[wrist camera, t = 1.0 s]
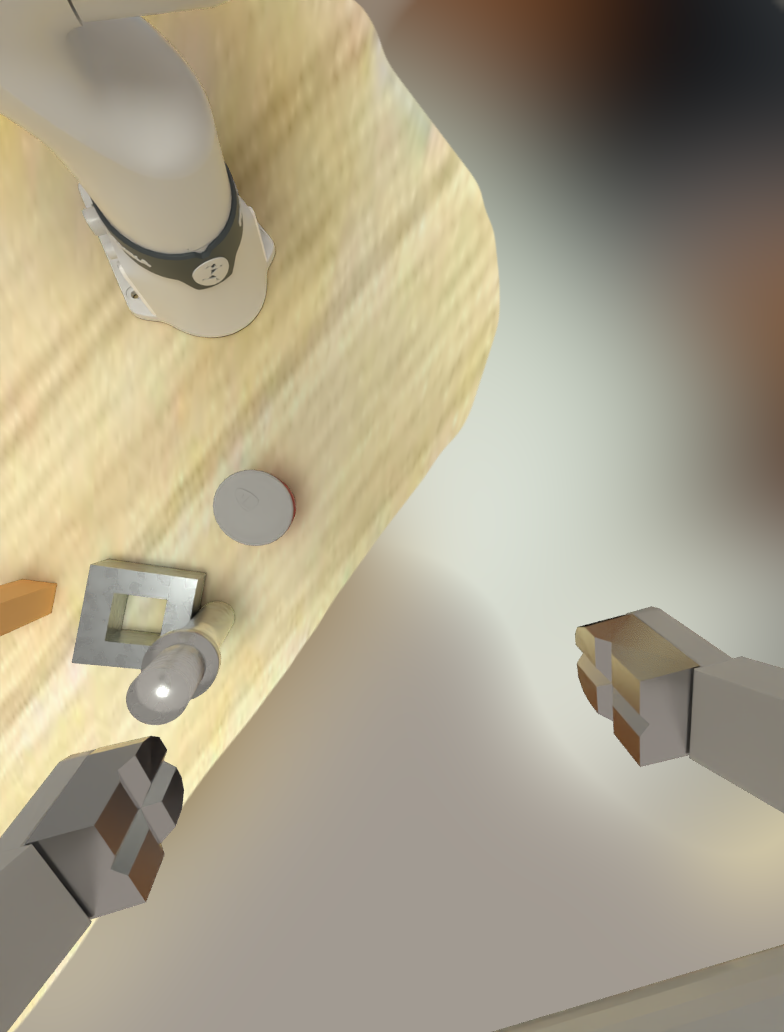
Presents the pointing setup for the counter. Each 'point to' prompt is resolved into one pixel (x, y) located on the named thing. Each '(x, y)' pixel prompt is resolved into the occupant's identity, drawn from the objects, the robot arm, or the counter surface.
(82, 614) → the grey socket with post
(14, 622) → the tall orange pillar block
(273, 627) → the counter surface
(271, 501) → the canned food
